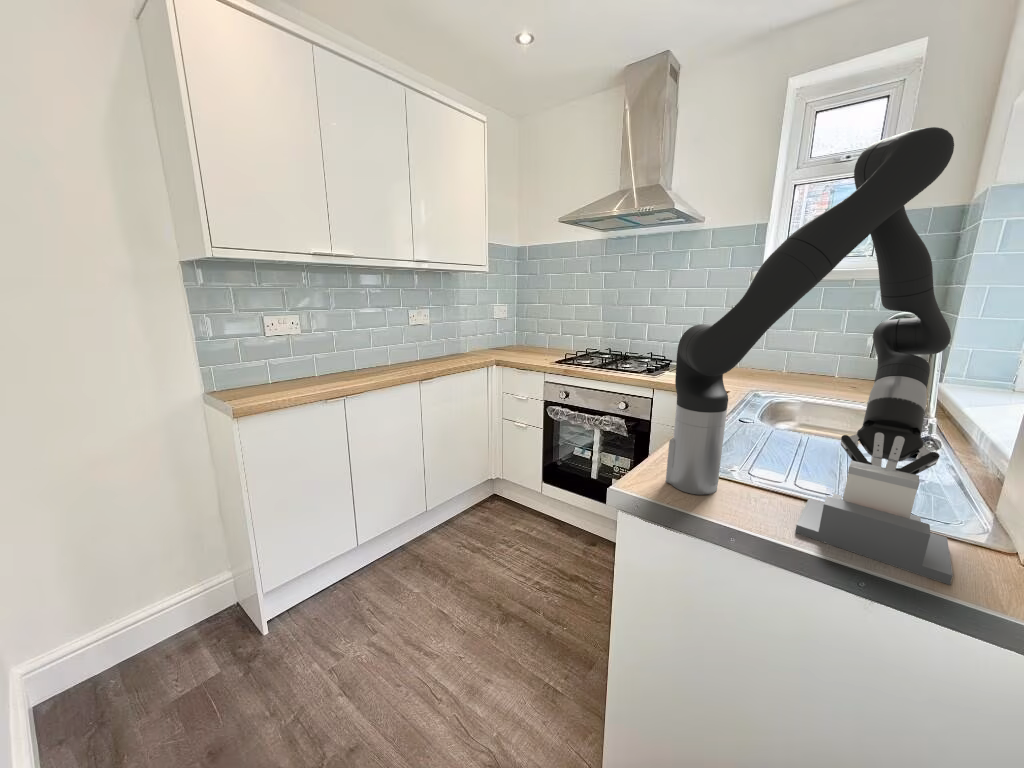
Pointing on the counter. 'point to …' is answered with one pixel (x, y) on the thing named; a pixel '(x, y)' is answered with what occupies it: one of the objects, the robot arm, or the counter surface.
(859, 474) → the light grey upright block
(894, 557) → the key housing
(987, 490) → the counter surface
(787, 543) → the counter surface
